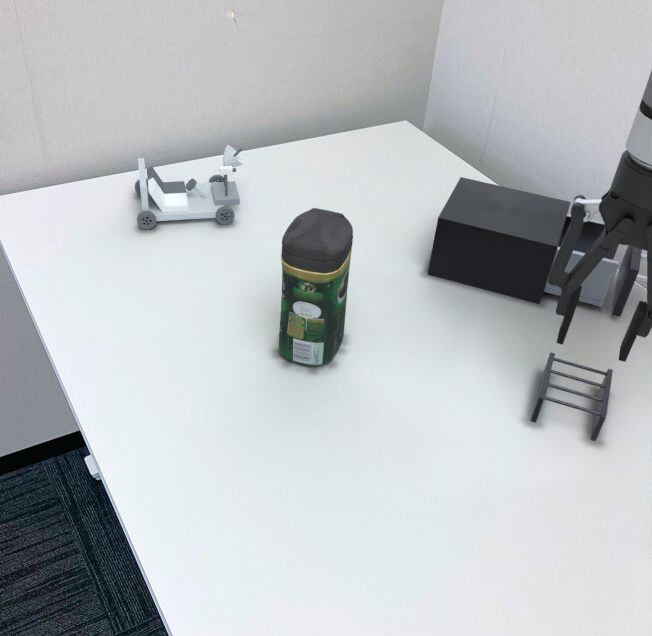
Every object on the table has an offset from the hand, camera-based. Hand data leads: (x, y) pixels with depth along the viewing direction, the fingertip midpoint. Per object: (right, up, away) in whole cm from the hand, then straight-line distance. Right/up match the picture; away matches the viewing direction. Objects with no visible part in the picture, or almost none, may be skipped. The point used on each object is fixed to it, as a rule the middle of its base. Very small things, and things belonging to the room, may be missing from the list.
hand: (591, 345), depth 86 cm
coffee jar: (-32, 0, +13) cm, 35 cm away
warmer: (-4, +12, +30) cm, 32 cm away
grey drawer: (+9, +9, +25) cm, 28 cm away
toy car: (-51, +23, +39) cm, 68 cm away
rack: (0, -8, +6) cm, 10 cm away
